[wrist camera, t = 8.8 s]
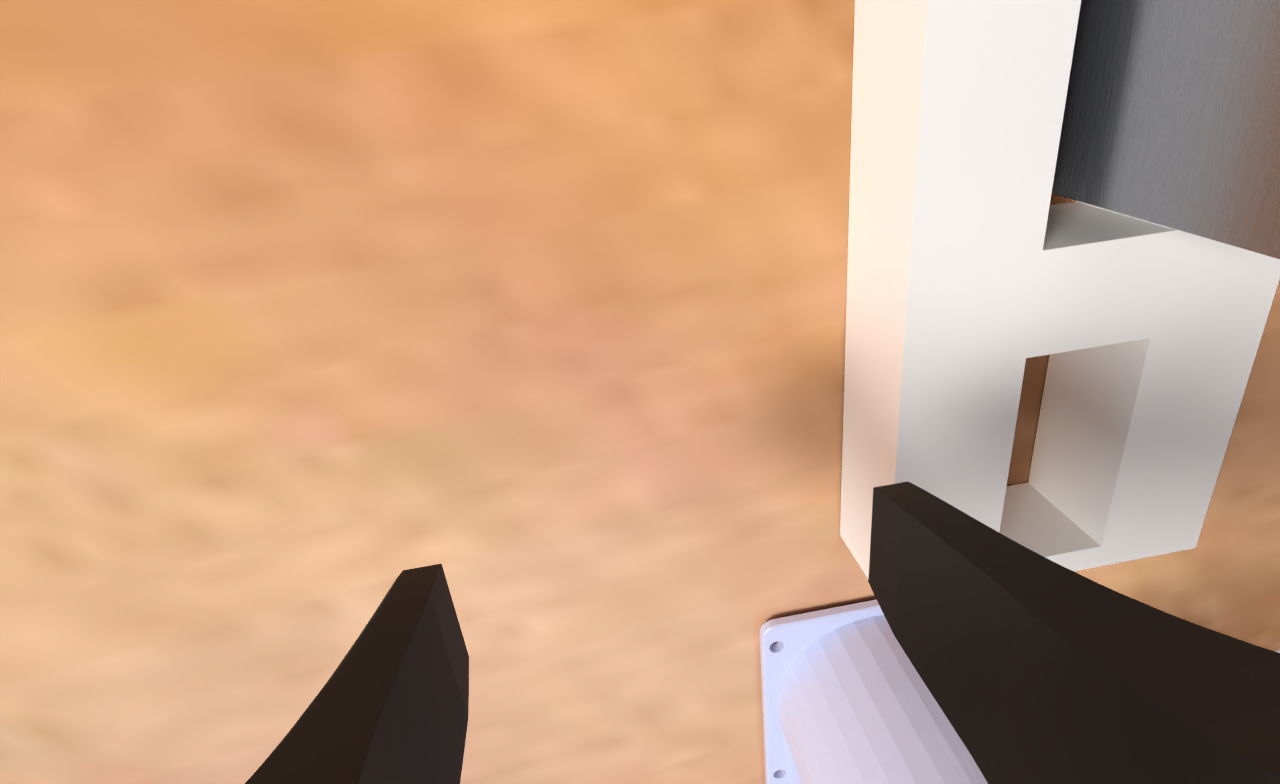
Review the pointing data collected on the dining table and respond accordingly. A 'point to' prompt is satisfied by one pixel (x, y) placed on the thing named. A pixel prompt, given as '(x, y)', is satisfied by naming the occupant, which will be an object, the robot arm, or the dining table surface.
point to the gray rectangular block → (1177, 116)
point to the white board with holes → (1023, 301)
